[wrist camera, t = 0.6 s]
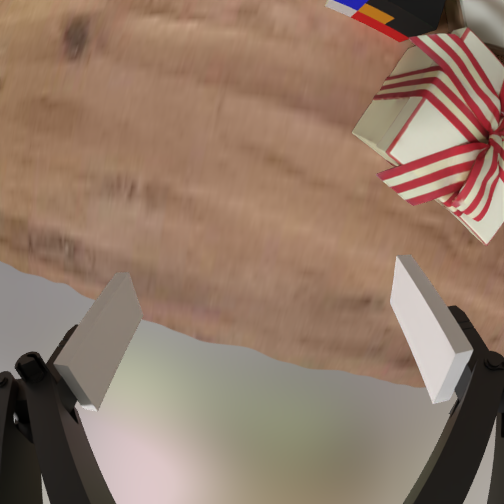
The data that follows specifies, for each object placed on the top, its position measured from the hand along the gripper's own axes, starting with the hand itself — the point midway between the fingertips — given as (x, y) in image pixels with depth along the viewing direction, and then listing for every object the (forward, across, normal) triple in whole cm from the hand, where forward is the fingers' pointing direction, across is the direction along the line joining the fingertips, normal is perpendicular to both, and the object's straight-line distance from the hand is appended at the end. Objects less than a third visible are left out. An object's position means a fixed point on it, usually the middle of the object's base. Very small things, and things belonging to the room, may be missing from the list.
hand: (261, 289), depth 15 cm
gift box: (+26, +19, +6) cm, 33 cm away
